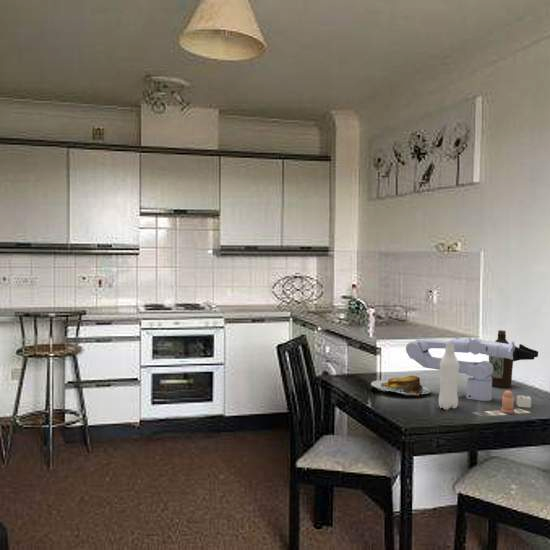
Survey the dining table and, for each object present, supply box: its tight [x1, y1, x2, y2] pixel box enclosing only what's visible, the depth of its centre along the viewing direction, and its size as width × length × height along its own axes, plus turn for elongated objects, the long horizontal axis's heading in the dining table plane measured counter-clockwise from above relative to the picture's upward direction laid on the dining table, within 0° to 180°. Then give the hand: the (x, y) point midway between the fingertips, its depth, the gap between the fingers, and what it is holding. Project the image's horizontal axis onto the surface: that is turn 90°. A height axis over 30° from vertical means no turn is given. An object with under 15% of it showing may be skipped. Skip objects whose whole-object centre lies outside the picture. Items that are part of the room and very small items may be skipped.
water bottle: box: [438, 343, 460, 411], centre depth 231 cm, size 7×7×25 cm
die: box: [516, 395, 532, 408], centre depth 235 cm, size 4×4×5 cm
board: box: [472, 407, 532, 418], centre depth 224 cm, size 22×7×1 cm, turn 110°
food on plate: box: [370, 375, 432, 397], centre depth 259 cm, size 26×25×7 cm
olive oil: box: [488, 329, 514, 389], centre depth 274 cm, size 11×11×25 cm
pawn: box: [500, 390, 515, 415], centre depth 225 cm, size 5×5×8 cm
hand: (536, 355), depth 234 cm, fingers open, 7 cm apart
